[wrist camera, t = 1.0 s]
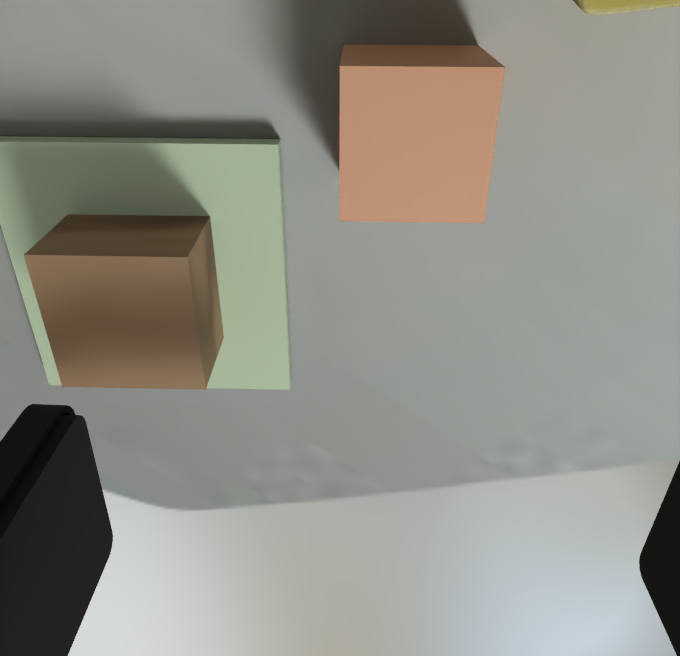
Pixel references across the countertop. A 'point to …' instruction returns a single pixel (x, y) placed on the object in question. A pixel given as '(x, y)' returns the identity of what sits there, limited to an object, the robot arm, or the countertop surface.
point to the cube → (417, 132)
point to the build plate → (167, 200)
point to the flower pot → (621, 5)
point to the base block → (129, 300)
